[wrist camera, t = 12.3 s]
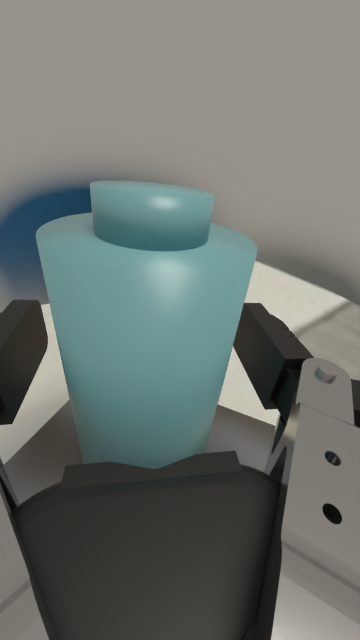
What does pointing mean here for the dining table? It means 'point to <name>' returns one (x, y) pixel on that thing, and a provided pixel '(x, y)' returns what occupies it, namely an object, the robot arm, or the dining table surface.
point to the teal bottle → (144, 317)
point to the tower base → (63, 449)
